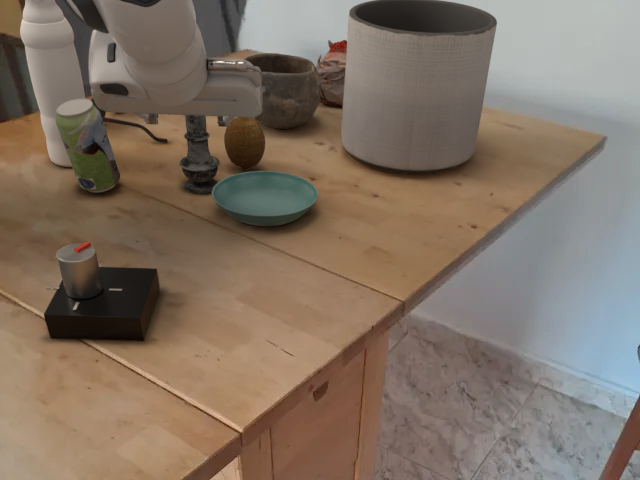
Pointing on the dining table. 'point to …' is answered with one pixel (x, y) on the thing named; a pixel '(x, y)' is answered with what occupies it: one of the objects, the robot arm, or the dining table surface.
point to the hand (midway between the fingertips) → (188, 120)
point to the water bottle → (51, 67)
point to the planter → (415, 83)
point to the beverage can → (87, 145)
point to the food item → (333, 73)
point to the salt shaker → (198, 157)
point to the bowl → (287, 89)
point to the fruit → (244, 142)
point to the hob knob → (80, 270)
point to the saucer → (265, 197)
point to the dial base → (107, 307)
